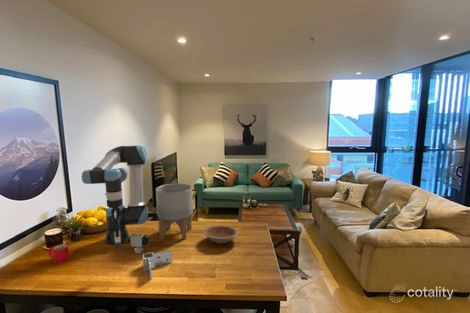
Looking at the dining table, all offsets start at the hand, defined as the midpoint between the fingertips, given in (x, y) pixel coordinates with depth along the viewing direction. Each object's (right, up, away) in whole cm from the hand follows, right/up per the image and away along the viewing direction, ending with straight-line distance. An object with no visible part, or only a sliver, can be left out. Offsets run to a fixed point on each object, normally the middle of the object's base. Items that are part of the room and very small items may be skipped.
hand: (117, 240), depth 140 cm
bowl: (+53, -13, +38) cm, 67 cm away
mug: (-43, -16, +16) cm, 48 cm away
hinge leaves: (+21, -18, +5) cm, 28 cm away
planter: (+20, -11, +50) cm, 54 cm away
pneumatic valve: (+3, -15, +24) cm, 28 cm away
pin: (0, -4, +1) cm, 4 cm away
